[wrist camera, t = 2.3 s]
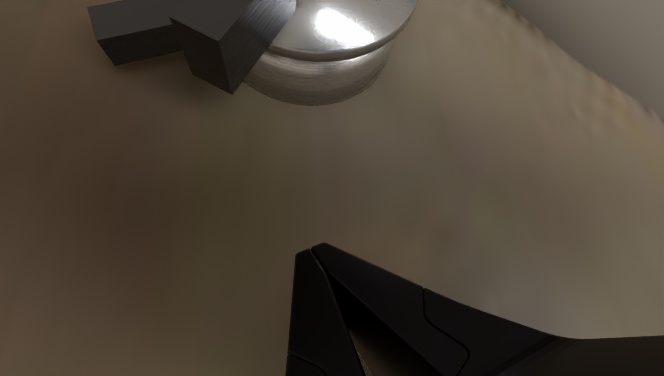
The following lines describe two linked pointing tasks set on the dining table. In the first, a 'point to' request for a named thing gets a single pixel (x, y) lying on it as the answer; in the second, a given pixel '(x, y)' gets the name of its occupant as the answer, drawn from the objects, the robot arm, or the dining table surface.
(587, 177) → the dining table surface
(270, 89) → the pot
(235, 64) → the lid
